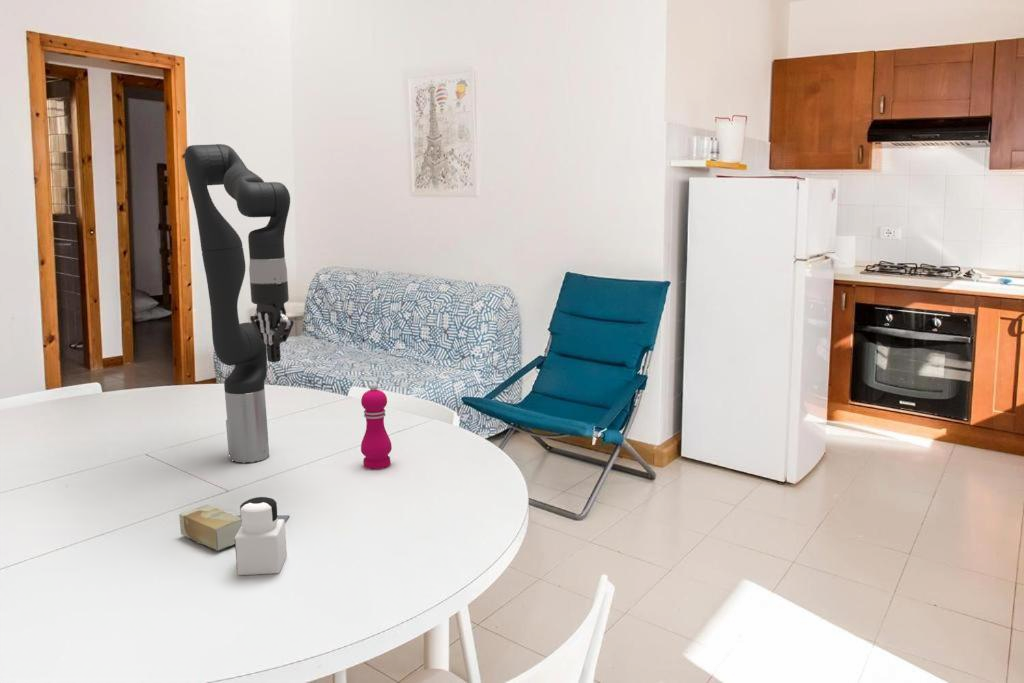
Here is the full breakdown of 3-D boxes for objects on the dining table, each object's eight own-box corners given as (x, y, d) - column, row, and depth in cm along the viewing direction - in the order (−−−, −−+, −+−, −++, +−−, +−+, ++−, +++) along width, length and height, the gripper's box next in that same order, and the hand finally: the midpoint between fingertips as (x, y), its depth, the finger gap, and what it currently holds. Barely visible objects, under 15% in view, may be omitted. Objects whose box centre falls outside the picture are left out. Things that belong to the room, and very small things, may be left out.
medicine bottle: (246, 557, 146) (241, 494, 144) (287, 555, 146) (283, 492, 144) (237, 576, 139) (231, 509, 137) (279, 574, 139) (275, 508, 137)
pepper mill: (386, 471, 189) (382, 387, 186) (356, 469, 191) (352, 386, 187) (396, 461, 196) (393, 380, 193) (368, 459, 198) (364, 379, 194)
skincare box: (207, 503, 159) (246, 517, 152) (209, 524, 159) (247, 539, 152) (177, 514, 154) (215, 529, 146) (179, 535, 154) (217, 551, 147)
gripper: (235, 279, 170) (241, 360, 174) (271, 283, 162) (276, 368, 165) (266, 276, 176) (271, 354, 179) (302, 280, 168) (307, 362, 171)
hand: (274, 361), depth 172 cm, fingers closed
